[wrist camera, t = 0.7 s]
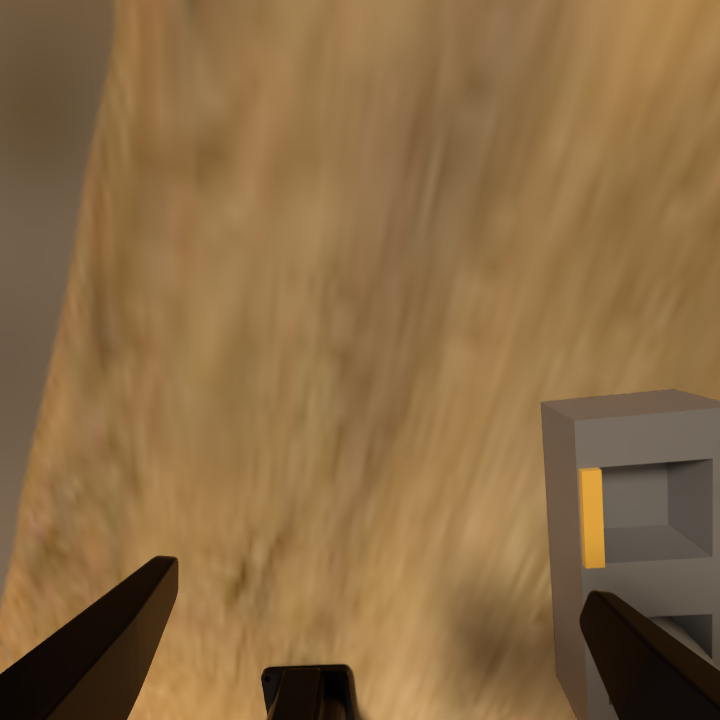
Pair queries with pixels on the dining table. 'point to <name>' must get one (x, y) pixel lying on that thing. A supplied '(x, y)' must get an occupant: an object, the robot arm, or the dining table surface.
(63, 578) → the dining table surface
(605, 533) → the compartment tray
